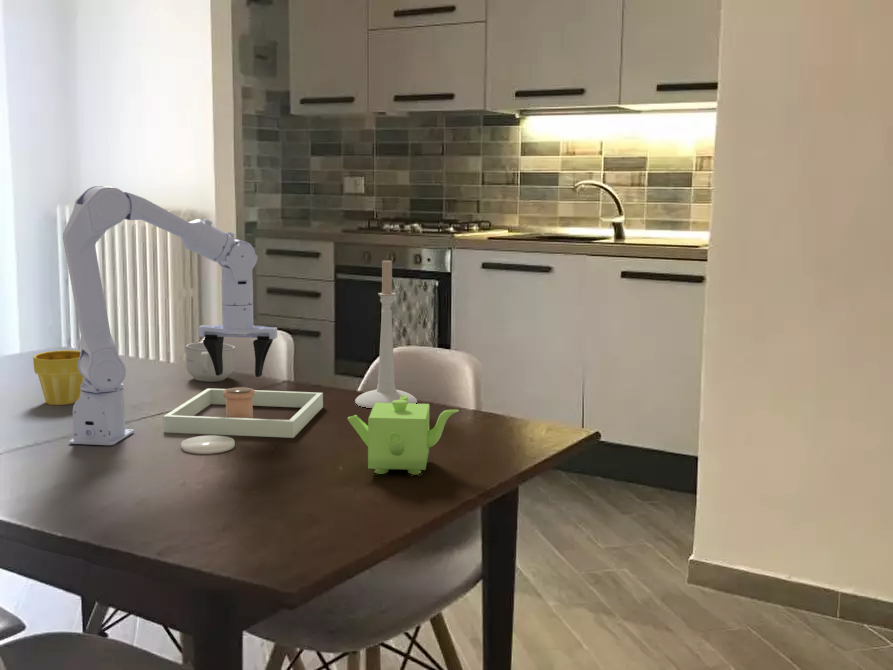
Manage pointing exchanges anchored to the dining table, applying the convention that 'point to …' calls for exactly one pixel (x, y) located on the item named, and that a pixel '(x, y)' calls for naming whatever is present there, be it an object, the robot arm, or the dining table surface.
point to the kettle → (399, 435)
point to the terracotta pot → (239, 402)
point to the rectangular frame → (188, 423)
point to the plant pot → (59, 376)
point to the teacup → (208, 362)
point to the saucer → (207, 444)
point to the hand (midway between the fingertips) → (238, 375)
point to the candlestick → (385, 351)
